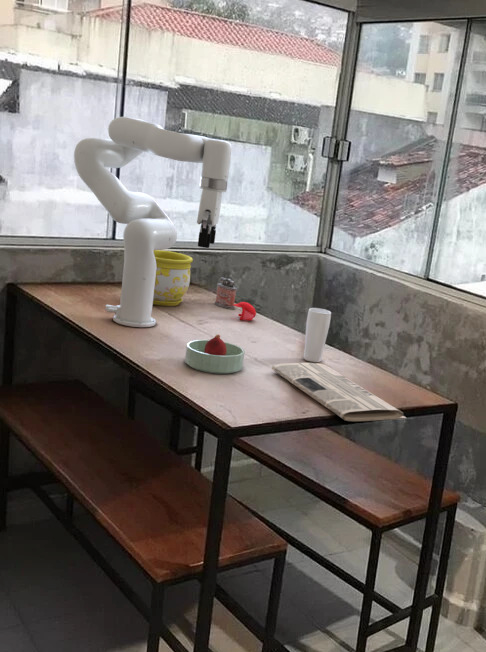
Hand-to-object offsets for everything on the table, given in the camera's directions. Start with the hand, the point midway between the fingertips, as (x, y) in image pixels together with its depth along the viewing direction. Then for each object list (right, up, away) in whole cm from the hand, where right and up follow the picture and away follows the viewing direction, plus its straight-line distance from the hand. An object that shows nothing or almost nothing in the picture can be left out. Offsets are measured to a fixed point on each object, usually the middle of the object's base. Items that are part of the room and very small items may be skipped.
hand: (206, 245), depth 231 cm
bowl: (+4, -34, -15) cm, 38 cm away
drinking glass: (+30, -33, +6) cm, 45 cm away
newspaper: (+37, -41, -22) cm, 60 cm away
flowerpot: (-24, -14, +49) cm, 56 cm away
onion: (+5, -34, -15) cm, 37 cm away
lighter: (-3, -15, +58) cm, 60 cm away
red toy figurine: (+5, -20, +43) cm, 48 cm away
